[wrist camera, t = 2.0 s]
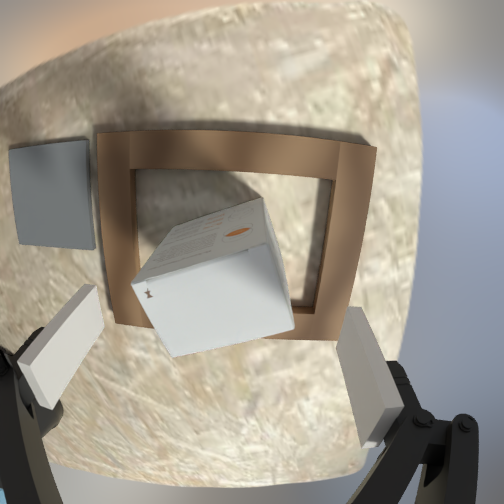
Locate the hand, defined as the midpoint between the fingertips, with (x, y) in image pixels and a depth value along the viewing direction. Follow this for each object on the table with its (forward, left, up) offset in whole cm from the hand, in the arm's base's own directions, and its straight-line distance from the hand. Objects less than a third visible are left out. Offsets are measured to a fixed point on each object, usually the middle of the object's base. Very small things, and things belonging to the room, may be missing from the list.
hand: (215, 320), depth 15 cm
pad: (-18, +3, -12) cm, 22 cm away
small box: (0, 0, -12) cm, 12 cm away
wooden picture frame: (0, 0, -12) cm, 12 cm away
